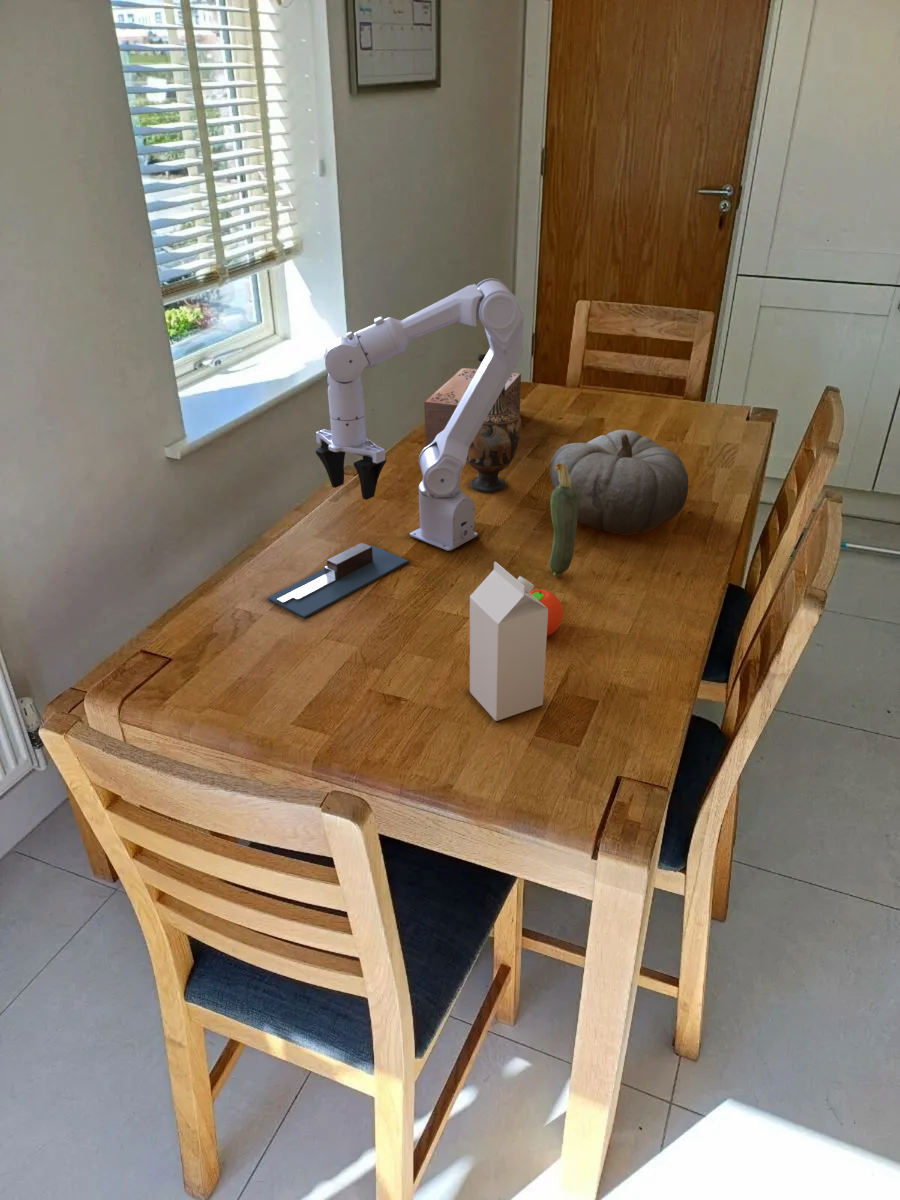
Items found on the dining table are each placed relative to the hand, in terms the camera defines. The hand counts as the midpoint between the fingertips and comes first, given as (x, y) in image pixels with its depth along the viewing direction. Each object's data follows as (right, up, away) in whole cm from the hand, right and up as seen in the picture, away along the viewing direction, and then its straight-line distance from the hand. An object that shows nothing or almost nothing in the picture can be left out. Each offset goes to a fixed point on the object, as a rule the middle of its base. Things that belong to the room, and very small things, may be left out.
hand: (353, 491), depth 150 cm
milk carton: (+24, -32, -34) cm, 53 cm away
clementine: (+29, -24, -21) cm, 43 cm away
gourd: (+47, -3, +12) cm, 49 cm away
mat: (-1, -15, -7) cm, 17 cm away
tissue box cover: (+22, +20, +52) cm, 60 cm away
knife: (-3, -15, -8) cm, 18 cm away
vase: (+25, +4, +25) cm, 35 cm away
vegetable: (+34, -15, -7) cm, 38 cm away
